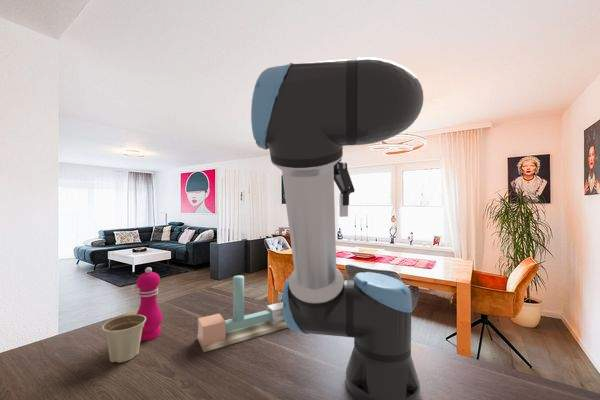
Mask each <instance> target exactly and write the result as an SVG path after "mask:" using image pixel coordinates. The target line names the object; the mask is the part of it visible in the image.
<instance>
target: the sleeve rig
mask: <svg viewBox="0 0 600 400" xmlns="http://www.w3.org/2000/svg"><path fill="white" fill-rule="evenodd" d="M266 310H270V311H272V320H271V321H267V322H263V323H259V324H256V325H252V326H248V327H245V328H241V329H237V330H233V331H230V332H226V333H225V340H222V341H219V342H215V343H211V344H208V345H204V346H203V345H202V343H201V341H200V339H199V337H198V333H197V337H196V338H197V341H198V343H199V345H200V348H201V350H202V352H203V353H206V352H210V351H212V350H213V351H214V350H216V349H219V348H223V347H227V346H230V345H233V344H236V343H240V342H243V341H247V340H250V339H254V338H258V337H260V336H264V335H268V334H270V333H274V332H277V331H281V330H284V329H289V327H288V326H287V324H286V322H285V319H284V316H283V302H282V301H281V302H277V303H272V304H269V305H267V304H266Z"/></svg>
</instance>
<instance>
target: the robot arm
mask: <svg viewBox="0 0 600 400" xmlns="http://www.w3.org/2000/svg"><path fill="white" fill-rule="evenodd" d="M423 105H424V91H423V87H422V84H421V82H420V80H419V79H418V78H417V76H416V75H415V74H414V73H413V72H412V71H411V70H409V69H408V68H407V67H405V66H403V65H401V64H398V63H396V62H394V61H391V60H388V59H383V58H379V57H357V58H349V59H334V60H323V61H322V60H321V61H313V62H312V61H309V62H299V63H295V62H294V63H293V62H289V63H288V64H283V65H282V64H281V65H276V66H272V67H268V68H266V69H264V70H263V71H261V73H260V74H259V75H258V78H257V79H256V81H255V84H254V89H253V93H252V99H251V110H250V111H251V113H250V119H251V120H250V123H251V131H252V136H253V139H254V140H255V144H256V146H257V147H259V148H260V149H263V150H266V151H267V150H269V155H270V163H271V164H272V165H273V166H274V167H276V168H277V169H279V170H280V171H281V173H282V181H283V182H282V183H283V191H284V198H285V199H284V200H285V207H286V214H287V222H288V231H289V238H290V245H291V253H292V254H291V255H292V262H293V268H294V269H293V271H292V272H291V274H290V275H289V276H288V278H287V279H286V280H285V282H284V285H283V288H282V289H283V290H282V293H281V294H282V297H281V299H282V301H281V302H283V316H284V319H285V322H286V324H287V326H288V329H290V330H291V331H292V332H297V333H302V334H305V335H308V334H311V335H320V336H332V337H345V338H352V339H353V338H354V339H353V341H354V342H353V349H352V351H351V355H350V356H349V359H348V363H347V365H346V370H345V384H346V388H347V390H348V392H349V394H350V395H351V396H352V398H353V399H355V400H420V399H421V383H420V379H419V376H418V372H417V371H416V367H415V364H414V360H413V357H412V312H413V305H412V292H411V289H410V288H409V286H407V284H405V283H404V282H403V281H401V279H397V278H395V277H392V276H390V275H387V274H383V273H377V272H371V271H365V272H361V271H360V272H357V273H356V274H355V275H354V277H353V279H344V275H343V274H342V272H341V270H340V269H339V268H338V267H337V249H336V248H337V246H336V245H337V243H336V242H337V241H336V214H335V213H336V211H335V210H336V208H335V204H336V203H335V184H336V186H337V188H338V190H339V192H340V193H339V217H340V218H343V217H345V218H346V217H349V206H350V195H351V194H352V193H355V188H354V184H353V182H352V179H351V176H350V173H349V170H348V163H347V162H346V161H345V162H344V161H343V162H342V158H343V156H344V155H343V154H344V152H343V149H344V148H343V147H345V146H346V147H347V146H362V145H369V144H375V143H379V142H382V141H385V140H388V139H391V138H393V137H396V136H398V135H400V134H401V133H402V132H404V131H406V130H408V129H409V128H410V127H411V126H412V125H413V124H414V123H415V121H416V120H417V119H418V118H419V115H420V113H421V111H422V108H423Z"/></svg>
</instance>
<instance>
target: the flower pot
mask: <svg viewBox="0 0 600 400" xmlns="http://www.w3.org/2000/svg"><path fill="white" fill-rule="evenodd" d="M145 321H146V317H145V316H143V315H136V314H126V315H122V316H118V317H115V318H112V319H109V320H108V321H106V322H105V323H104V324H102V326H101V330H102V331H103V333H104V336H105V338H106V344H107V350H108V356H109V361H110V363H118V364H119V363H125V362H128V361H131V360H132V359H134V358H135V357H136V356H137V355H139V352H140V345H141V341H140V340H141V334H142V329H143V327H144V323H145Z"/></svg>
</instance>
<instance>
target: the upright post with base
mask: <svg viewBox="0 0 600 400" xmlns="http://www.w3.org/2000/svg"><path fill="white" fill-rule="evenodd" d="M224 320H225V333H226V332H230V331H233V330H237V329H241V328H245V327H248V326H252V325H256V324H259V323H263V322H267V321H271V320H272V311H270V310H267V309H266V310H262V311H258V312H253V313H250V314H245V276H244V275H234V276H233V277H232V318H229V319H224Z"/></svg>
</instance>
